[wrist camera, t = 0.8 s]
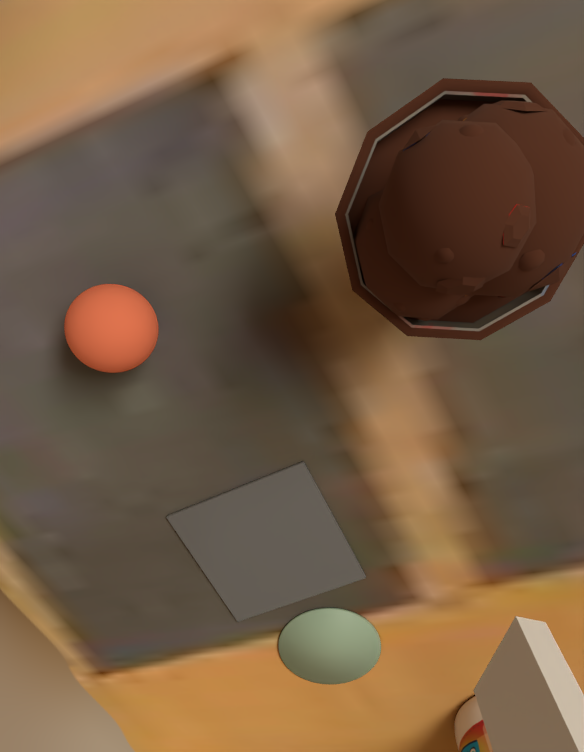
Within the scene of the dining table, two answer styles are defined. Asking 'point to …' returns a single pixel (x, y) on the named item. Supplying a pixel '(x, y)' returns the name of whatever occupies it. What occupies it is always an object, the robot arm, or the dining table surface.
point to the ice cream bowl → (464, 209)
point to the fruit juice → (471, 729)
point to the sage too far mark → (329, 645)
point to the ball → (111, 328)
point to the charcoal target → (268, 543)
